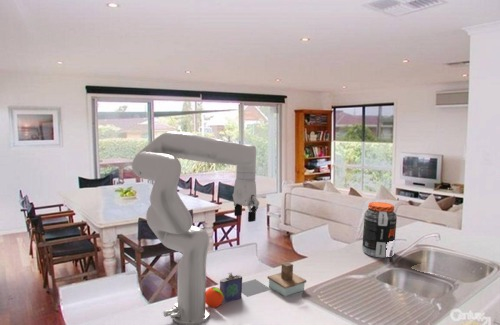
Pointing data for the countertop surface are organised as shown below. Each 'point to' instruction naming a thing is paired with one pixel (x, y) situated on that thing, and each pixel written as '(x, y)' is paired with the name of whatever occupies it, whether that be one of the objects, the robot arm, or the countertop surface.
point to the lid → (286, 277)
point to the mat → (253, 287)
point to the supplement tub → (378, 228)
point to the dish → (288, 290)
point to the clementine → (214, 297)
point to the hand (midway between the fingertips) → (244, 218)
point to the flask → (231, 288)
